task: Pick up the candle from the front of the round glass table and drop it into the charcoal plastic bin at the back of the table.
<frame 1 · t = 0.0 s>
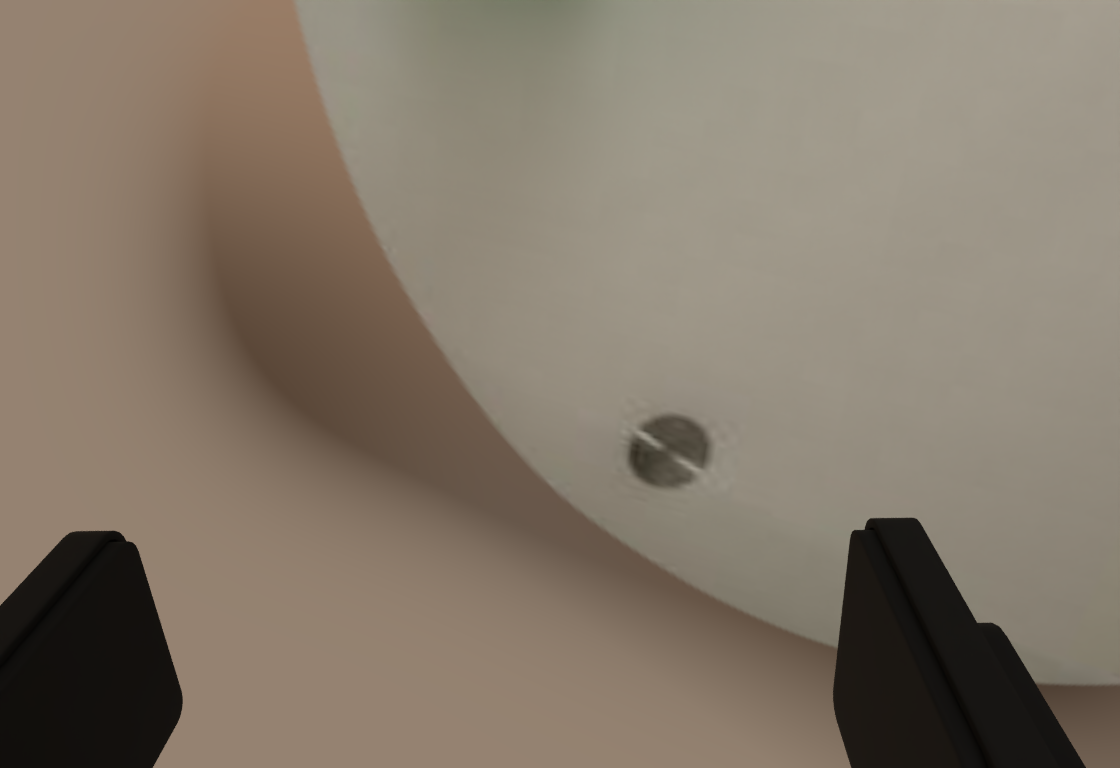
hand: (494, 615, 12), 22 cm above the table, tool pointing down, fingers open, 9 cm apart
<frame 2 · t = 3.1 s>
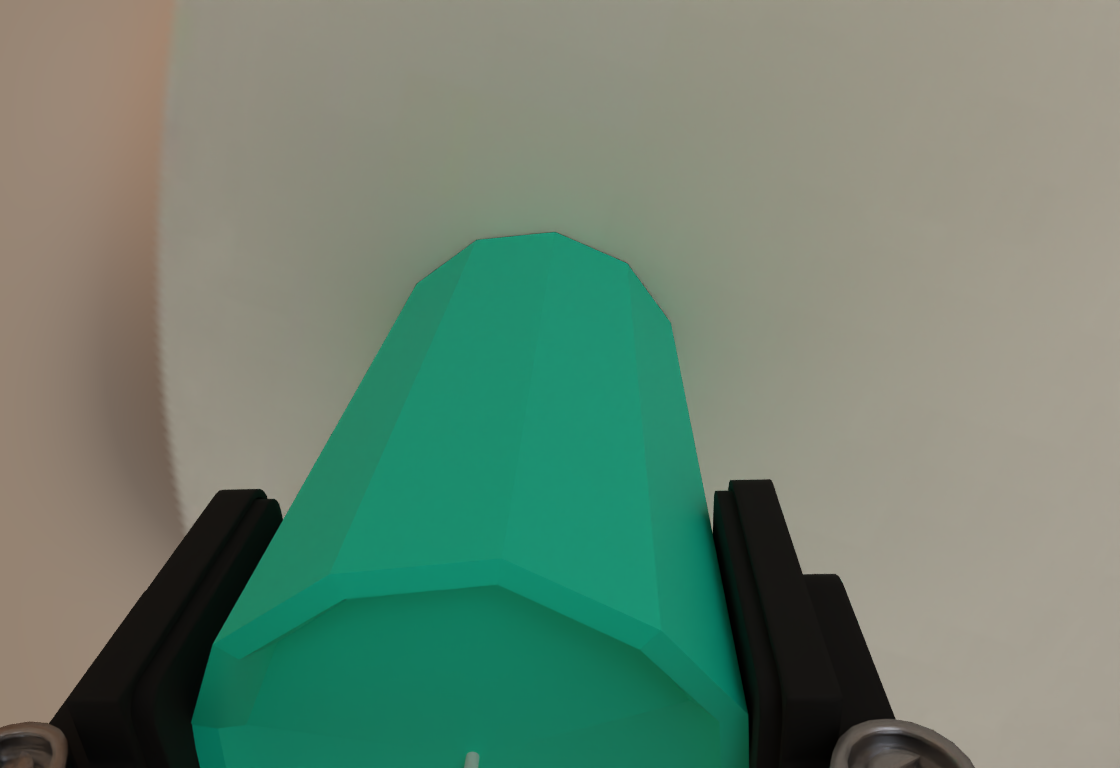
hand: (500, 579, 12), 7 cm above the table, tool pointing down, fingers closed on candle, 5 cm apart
candle: (534, 366, 19), on the table, touching gripper
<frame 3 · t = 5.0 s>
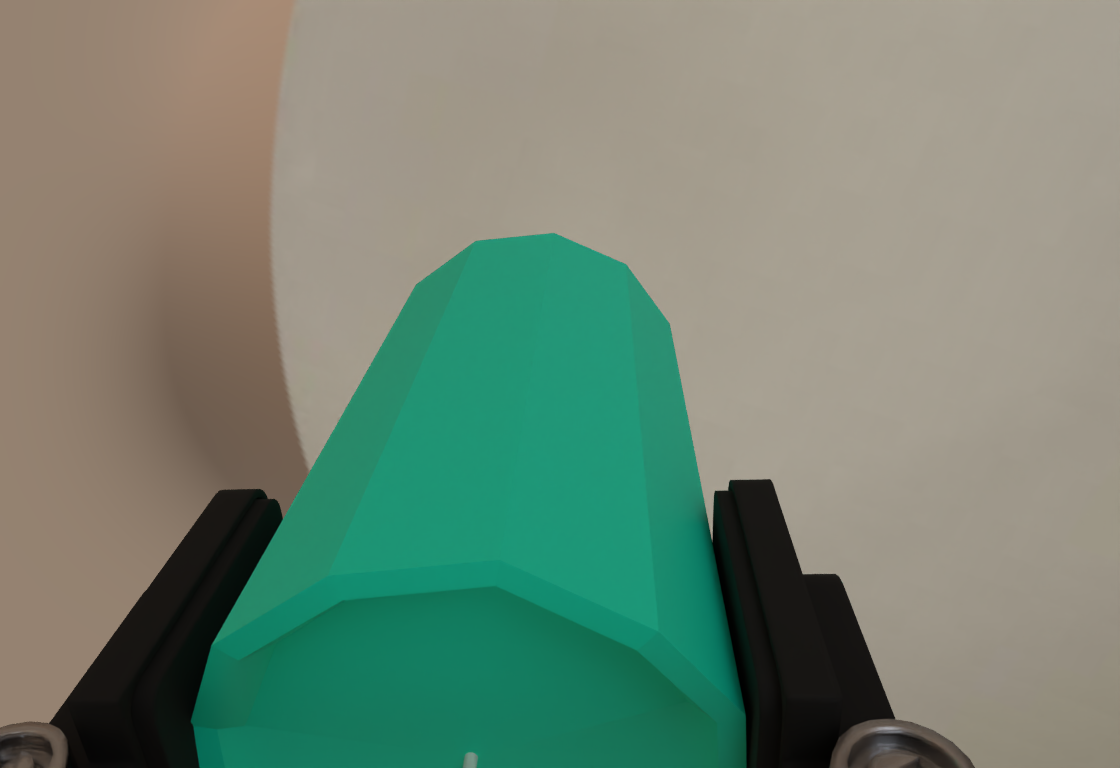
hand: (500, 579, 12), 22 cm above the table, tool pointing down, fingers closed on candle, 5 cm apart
candle: (534, 366, 19), point 14 cm above the table, touching gripper
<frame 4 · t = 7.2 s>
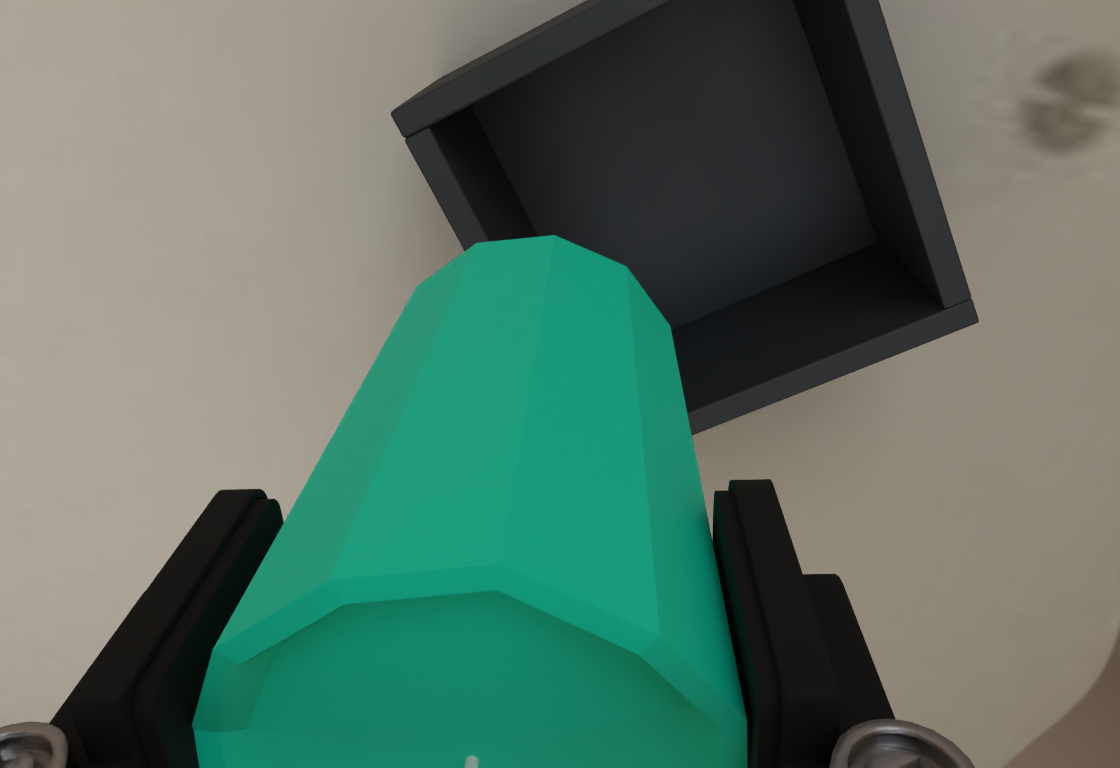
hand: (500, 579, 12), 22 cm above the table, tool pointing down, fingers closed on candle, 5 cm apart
candle: (534, 368, 19), point 15 cm above the table, touching gripper
bin: (675, 166, 32), on the table
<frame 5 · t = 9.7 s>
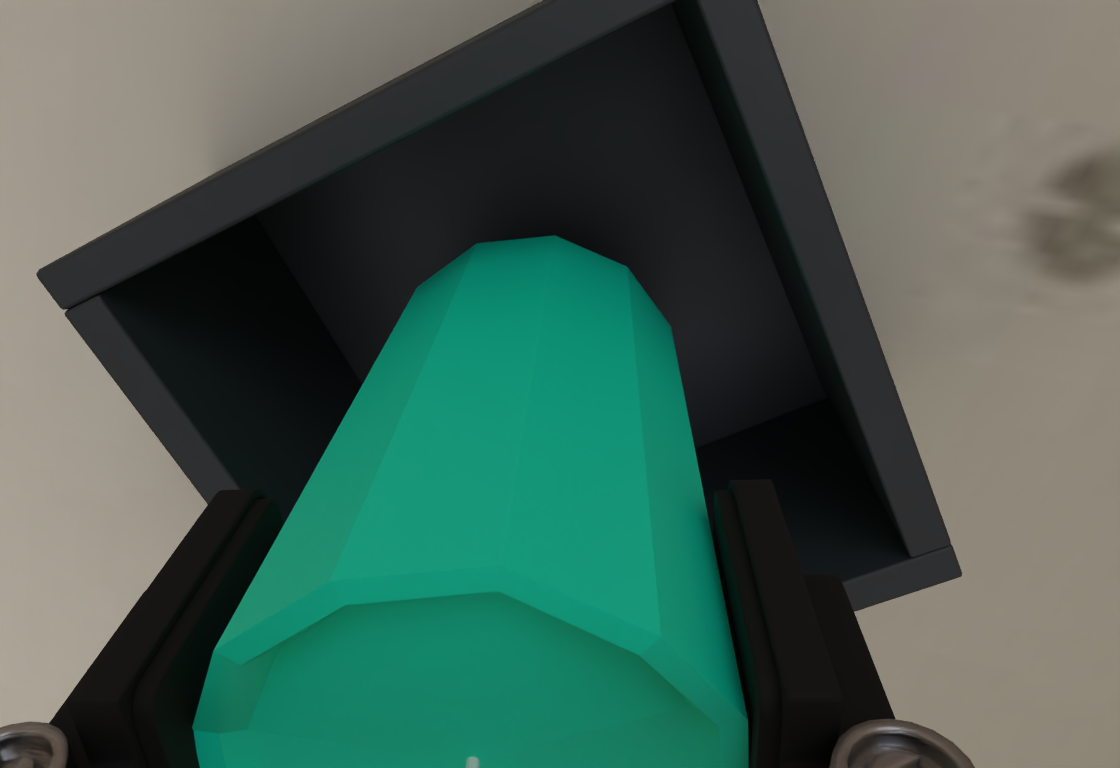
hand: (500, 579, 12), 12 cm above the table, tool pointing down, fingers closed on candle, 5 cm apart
candle: (535, 368, 19), point 5 cm above the table, touching gripper
bin: (547, 293, 23), on the table
when the fingers open (8 cm above the table, at t = 11.4 s): candle stays where it is, resting on bin.
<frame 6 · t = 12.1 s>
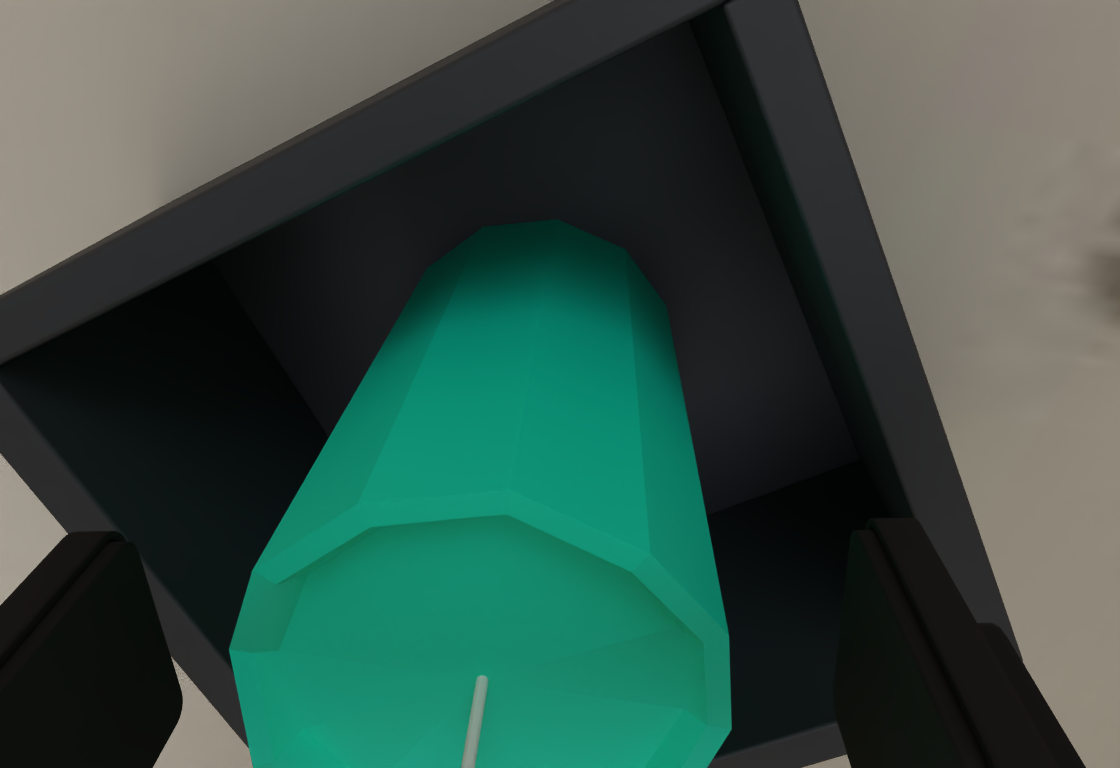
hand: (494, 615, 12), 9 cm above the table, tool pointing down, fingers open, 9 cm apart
candle: (538, 347, 20), resting on bin
bin: (542, 341, 20), on the table
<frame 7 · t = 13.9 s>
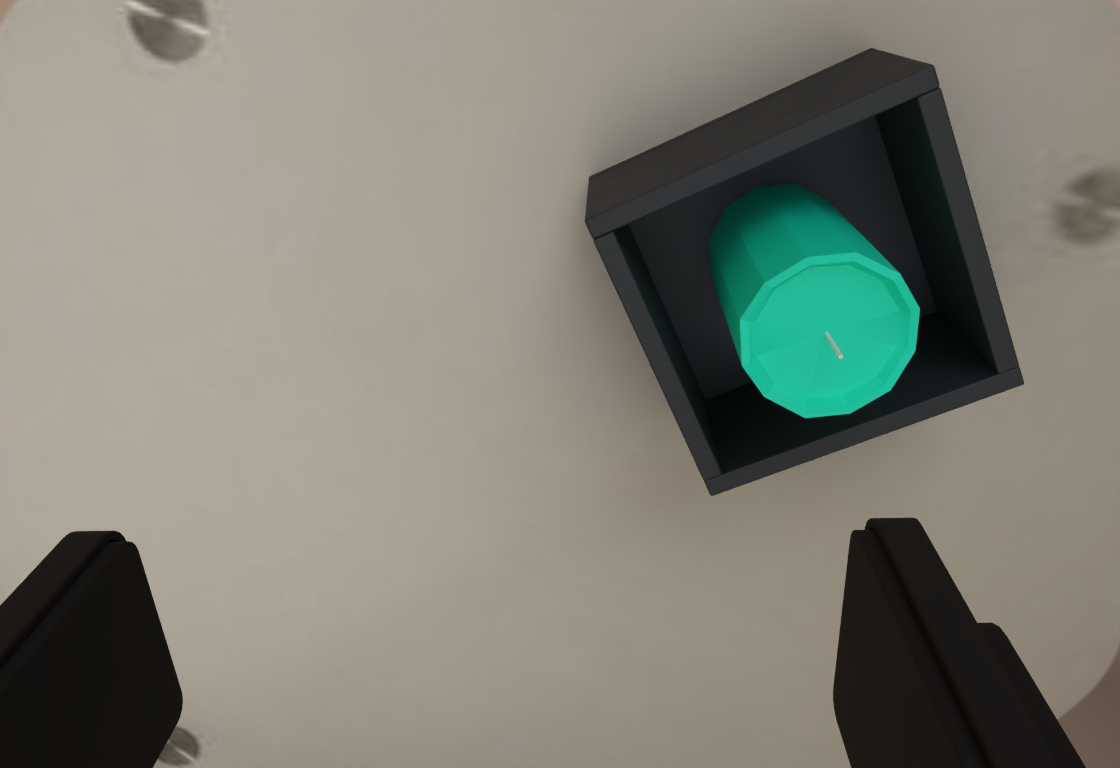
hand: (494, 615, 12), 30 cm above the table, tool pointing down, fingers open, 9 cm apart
candle: (775, 249, 39), resting on bin
bin: (775, 247, 39), on the table
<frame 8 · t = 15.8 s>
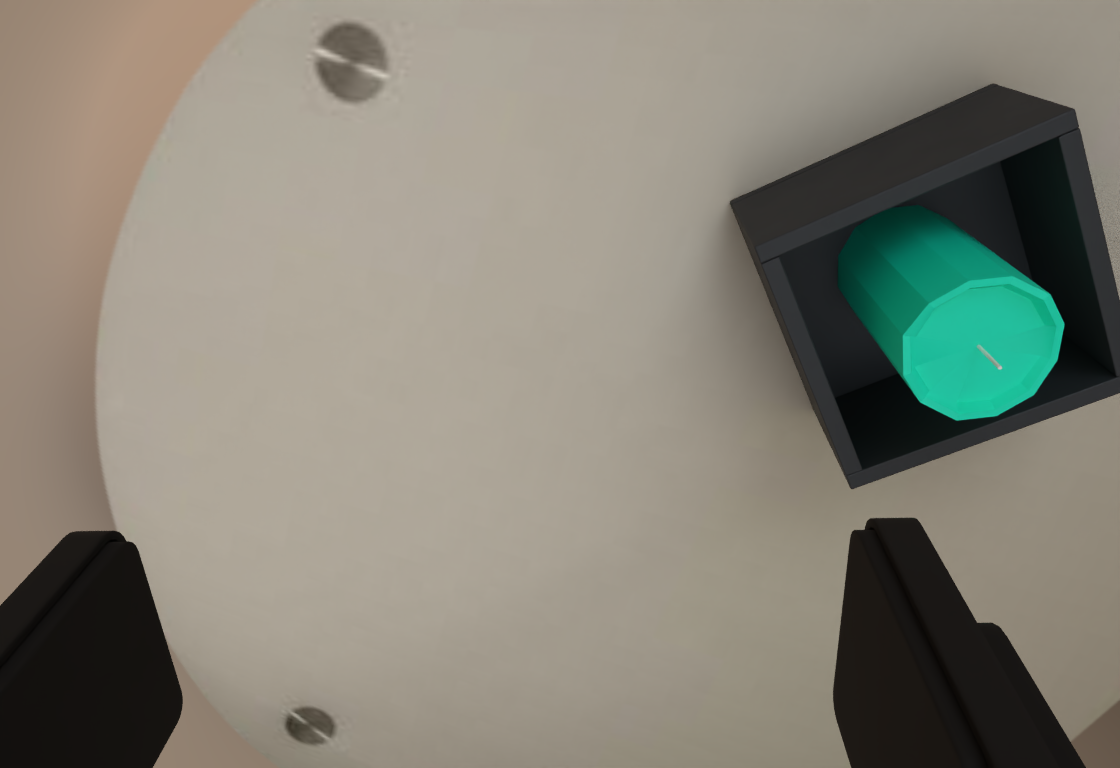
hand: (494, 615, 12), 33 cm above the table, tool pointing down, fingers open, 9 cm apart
candle: (897, 264, 43), resting on bin
bin: (896, 262, 43), on the table
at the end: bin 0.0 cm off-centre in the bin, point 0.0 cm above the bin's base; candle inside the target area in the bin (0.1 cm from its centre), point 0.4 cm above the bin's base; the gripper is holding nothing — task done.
